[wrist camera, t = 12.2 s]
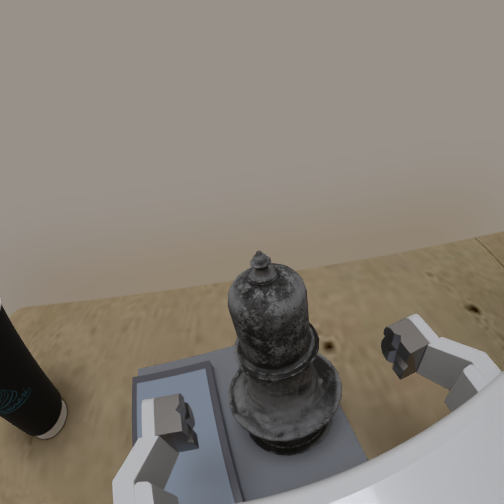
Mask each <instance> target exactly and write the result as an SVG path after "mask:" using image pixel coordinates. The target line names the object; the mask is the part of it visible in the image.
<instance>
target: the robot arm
mask: <svg viewBox="0 0 504 504" xmlns="http://www.w3.org/2000/svg"><path fill="white" fill-rule="evenodd" d="M384 335H385V337H384V339H383V340H382V343H381V349H382V353H383V355H384V357H385V358H386V360H387V361H389V362H391V363H393V368H392V369H393V370H394V371H395V373H396V374H397V376H398V377H399V379H400V380H401V379H403V378H405V377H407V376H409V375H411V374H413V373H415V372H416V373H418V374H420V375H422V376H424V377H426V378H427V379H429V380H431V381H433V382H435V383H437V384H439V385H441V386H443V387H444V388H446V389H448V390H450V392H449V393H448V395H447V396H446V398H445V401H444V402H445V403H446V405H447V406H448V408H449V409H450V411H451V413H450V414H448V415H447V416H445V417H444V418H442V419H441V420H439V421H438V422H436V423H435V424H433V425H432V426H430V427H429V428H427V429H425V430H424V431H422V432H421V433H419V434H417V435H416V436H414V437H412V438H410V439H409V440H407V441H405V442H403V443H402V444H400V445H398V446H396V447H394V448H392V449H390V450H389V451H387V452H385V453H383V454H381V455H379V456H377V457H375V458H372V459H370V460H368V461H366V462H364V463H362V464H360V465H357V466H355V467H353V468H350V469H348V470H346V471H343V472H341V473H338V474H336V475H333V476H331V477H328V478H325V479H323V480H320V481H317V482H314V483H311V484H308V485H305V486H302V487H299V488H296V489H293V490H289V491H286V492H282V493H279V494H275V495H271V496H267V497H263V498H259V499H255V500H250V501H245V502H240V503H235V504H504V370H503V371H502V372H501V371H500V369H499V368H498V367H497V366H496V365H495V363H494V362H493V361H492V360H491V359H490V357H489V356H488V355H487V354H486V353H485V352H483V351H480V350H477V349H474V348H472V347H469V346H466V345H463V344H460V343H458V342H455V341H452V340H449V339H447V338H444V337H441V338H439V337H438V336H437V335H436V334H435V332H434V331H433V330H432V329H431V328H430V327H429V326H428V325H427V324H426V322H425V321H424V320H423V319H422V318H421V317H420V316H419V315H418V314H413V315H411V316H409V317H407V318H404V319H402V320H400V321H398V322H396V323H394V324H392V325H389V326H387V327H386V328H385V329H384ZM141 422H142V437H141V438H138V440H137V441H136V443H135V445H134V446H133V448H132V450H131V451H130V453H129V455H128V456H127V458H126V460H125V461H124V463H123V465H122V466H121V468H120V470H119V471H118V473H117V475H116V476H115V478H114V480H113V481H112V484H113V503H114V504H179V502H178V497H177V496H175V495H174V494H171V493H169V492H167V491H165V490H164V489H165V486H166V484H167V481H168V479H169V477H170V474H171V472H172V470H173V467H174V465H175V463H176V460H177V458H178V455H179V453H178V452H184V451H190V450H195V449H199V444H198V438H197V434H196V432H195V431H194V430H193V428H194V426H195V419H194V415H193V412H192V409H191V407H190V405H189V404H188V403H186V402H184V397H183V396H182V394H181V393H179V394H174V395H169V396H163V397H157V398H151V399H145V400H142V404H141Z"/></svg>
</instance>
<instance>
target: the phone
mask: <svg viewBox="0 0 504 504" xmlns="http://www.w3.org/2000/svg"><path fill="white" fill-rule="evenodd" d="M179 393H181V394H182V396H183V397H184V402H186V403H188V404H189V405H190V407H191V409H192V412H193V415H194V419H195V426H194V428H193V430H194V431H195V432H196V434H197V438H198V444H199V449H195V450H190V451H184V452H178V453H179V455H178V458H177V460H176V463H175V465H174V467H173V470H172V472H171V474H170V477H169V479H168V481H167V484H166V486H165V489H164V490H165V491H167V492H169V493H171V494H174V495H175V496H177V497H178V502H179V504H235V503H240V502H245V498H244V495H243V491H242V487H241V484H240V480H239V476H238V473H237V469H236V465H235V461H234V457H233V453H232V449H231V445H230V441H229V437H228V433H227V429H226V424H225V420H224V416H223V411H222V407H221V402H220V398H219V393H218V388H217V383H216V379H215V374H214V369H213V366H212V364H211V362H210V360H208V361H204V362H200V363H196V364H192V365H188V366H184V367H180V368H175V369H171V370H166V371H162V372H157V373H152V374H148V375H143V376H138V377H133V384H132V440H133V446H134V445H135V443H136V441H137V440H138V438H141V437H142V422H141V404H142V400H145V399H151V398H157V397H163V396H169V395H174V394H179Z"/></svg>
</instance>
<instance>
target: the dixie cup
mask: <svg viewBox="0 0 504 504" xmlns="http://www.w3.org/2000/svg"><path fill="white" fill-rule="evenodd" d="M1 304H2V300H1V297H0V416H1V417H2V418H4V419H5V420H7V421H8V422H10V423H11V424H13V425H14V426H16V427H18V428H19V429H21V430H22V431H24V432H26V433H27V434H29V435H32V436H36V437H38V438H41V439H48V438H51V437H53V436H55V435H56V434H57V433H58V432H59V431H60V430H61V428H62V427H63V425H64V423H65V420H66V416H67V409H66V405H65V403H64V401H63V400H62V399H61V395H60V393H59V392H58V390H57V389H56V388H55V387H54V385H53V384H52V383H51V381H50V380H49V379H48V377H47V376H46V375H45V373H44V372H43V371H42V369H41V368H40V366H39V365H38V364H37V362H36V361H35V359H34V358H33V356H32V355H31V353H30V352H29V350H28V349H27V347H26V346H25V344H24V343H23V341H22V339H21V338H20V336H19V335H18V333H17V331H16V330H15V328H14V326H13V325H12V323H11V321H10V319H9V318H8V316H7V314H6V312H5V310H4V308H3V307H2V305H1Z"/></svg>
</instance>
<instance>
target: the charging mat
mask: <svg viewBox="0 0 504 504" xmlns="http://www.w3.org/2000/svg"><path fill="white" fill-rule="evenodd" d="M208 360H210V362H211V364H212V366H213V369H214V374H215V379H216V383H217V388H218V393H219V398H220V402H221V407H222V411H223V416H224V420H225V424H226V429H227V433H228V437H229V441H230V445H231V449H232V453H233V457H234V461H235V465H236V469H237V473H238V476H239V480H240V484H241V487H242V491H243V495H244V498H245V501H250V500H255V499H259V498H263V497H267V496H271V495H275V494H279V493H282V492H286V491H289V490H293V489H296V488H299V487H302V486H305V485H308V484H311V483H314V482H317V481H320V480H323V479H325V478H328V477H331V476H333V475H336V474H338V473H341V472H343V471H346V470H348V469H350V468H353V467H355V466H357V465H360V464H362V463H364V462H366V461H368V459H367V457H366V455H365V453H364V451H363V449H362V447H361V445H360V443H359V441H358V440H357V438H356V436H355V434H354V432H353V430H352V428H351V426H350V424H349V422H348V420H347V418H346V416H345V414H344V412H343V410H342V408H341V406H340V404H339V406H338V409H337V411H336V412H335V414H334V415H333V422H332V425H331V428H330V431H329V433H328V434H327V435H326V437H325V438H324V440H323V441H322V442H321V443H319V444H318V445H317V446H316V447H314V448H313V449H311V450H309V451H306V452H304V453H302V454H296V455H291V456H287V455H276V454H273V453H270V452H267V451H265V450H264V449H262V448H261V447H259V446H258V445H257V444H256V443H255V442H254V441H253V440H252V438H251V437H250V435H249V432H248V431H246V430H245V429H243V428H242V427H241V426H240V425H239V423H238V422H237V421H236V420H235V418H234V417H233V415H232V412H231V409H230V407H229V401H228V391H229V388H230V384H231V381H232V379H233V377H234V376H235V374H236V372H237V371H238V369H239V366H238V365H237V362H236V360H235V357H234V346H231V347H228V348H224V349H221V350H217V351H213V352H209V353H206V354H202V355H198V356H194V357H190V358H186V359H181V360H177V361H173V362H169V363H164V364H160V365H155V366H151V367H146V368H141V369H138V376H143V375H148V374H152V373H157V372H162V371H166V370H171V369H175V368H180V367H184V366H188V365H192V364H196V363H200V362H204V361H208Z"/></svg>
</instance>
